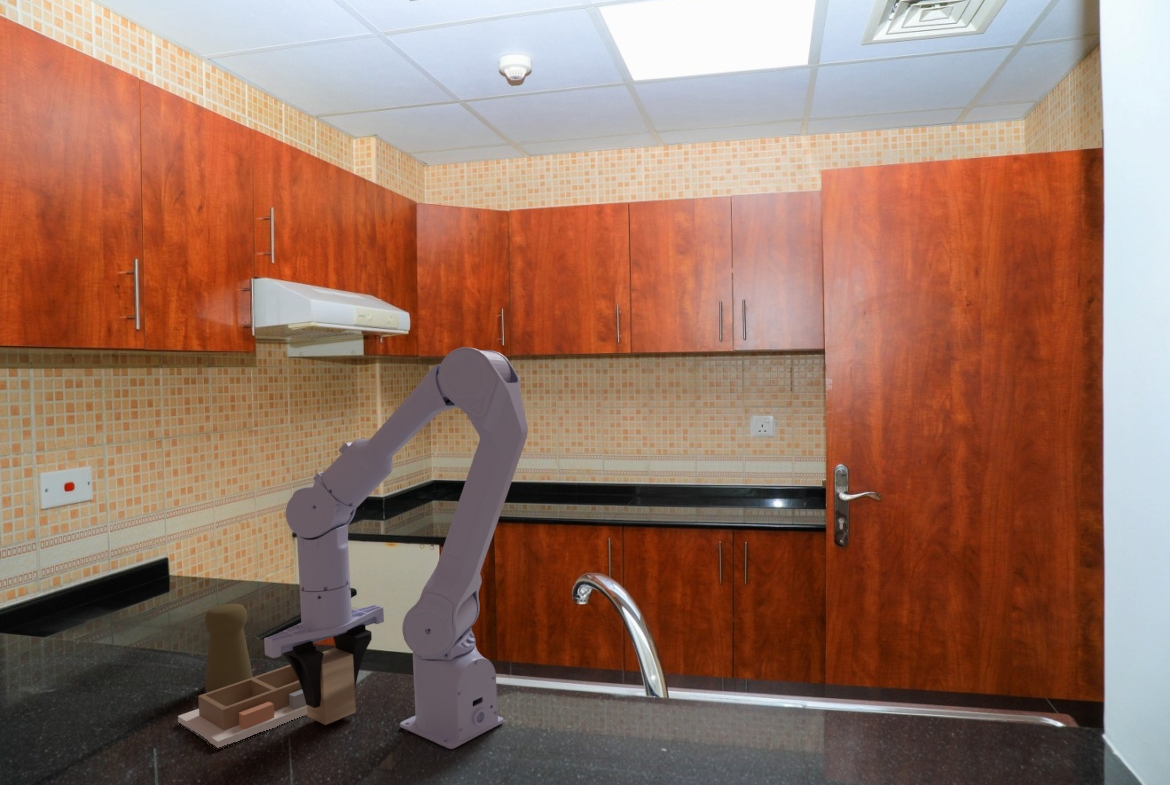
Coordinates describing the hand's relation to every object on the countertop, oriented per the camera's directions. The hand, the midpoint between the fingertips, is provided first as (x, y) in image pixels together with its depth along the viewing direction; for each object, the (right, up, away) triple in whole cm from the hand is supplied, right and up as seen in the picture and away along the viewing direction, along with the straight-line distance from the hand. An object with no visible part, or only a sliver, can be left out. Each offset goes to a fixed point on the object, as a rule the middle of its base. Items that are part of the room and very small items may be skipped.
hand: (331, 698), depth 87 cm
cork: (-18, -4, +12) cm, 22 cm away
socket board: (-9, -3, +3) cm, 11 cm away
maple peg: (0, -2, 0) cm, 2 cm away
